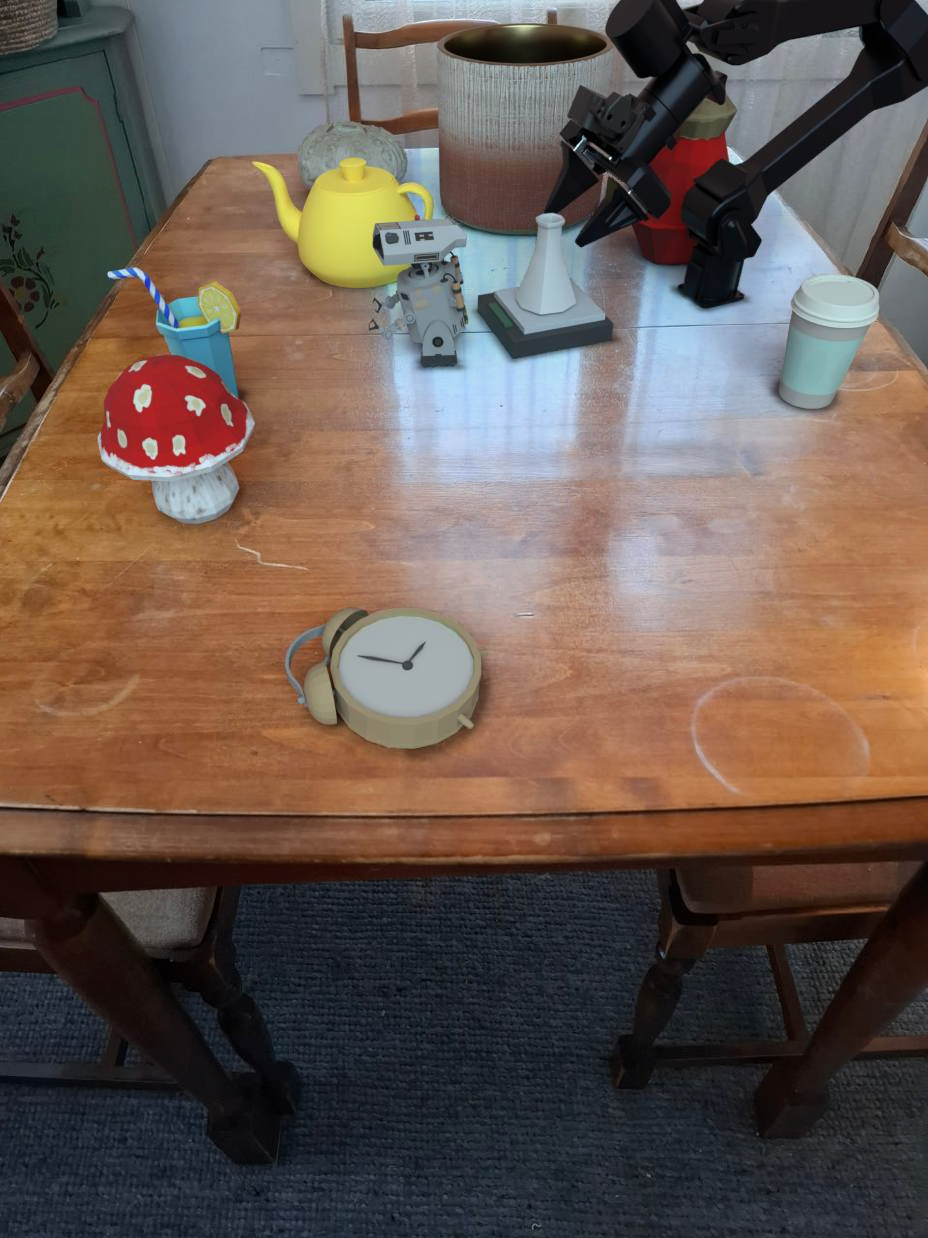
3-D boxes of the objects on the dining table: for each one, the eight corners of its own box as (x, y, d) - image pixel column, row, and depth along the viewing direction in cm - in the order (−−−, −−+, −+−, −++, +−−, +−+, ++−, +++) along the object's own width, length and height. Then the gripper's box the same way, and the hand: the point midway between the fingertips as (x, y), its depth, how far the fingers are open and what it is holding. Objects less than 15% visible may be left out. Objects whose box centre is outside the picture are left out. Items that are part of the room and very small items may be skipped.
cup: (136, 416, 89) (87, 282, 78) (165, 379, 94) (123, 249, 83) (256, 425, 87) (223, 290, 76) (279, 388, 92) (251, 256, 81)
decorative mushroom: (232, 445, 85) (194, 308, 74) (299, 509, 77) (268, 368, 66) (105, 498, 79) (43, 358, 68) (164, 573, 71) (105, 429, 60)
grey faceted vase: (538, 321, 96) (543, 235, 88) (504, 298, 100) (506, 214, 93) (586, 306, 98) (594, 221, 91) (551, 284, 102) (557, 201, 95)
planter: (552, 253, 116) (564, 74, 100) (409, 220, 125) (398, 51, 109) (625, 197, 130) (645, 32, 114) (491, 171, 140) (493, 15, 124)
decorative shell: (387, 169, 142) (382, 103, 134) (425, 202, 130) (421, 133, 123) (290, 185, 137) (279, 118, 129) (320, 221, 126) (310, 151, 118)
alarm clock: (473, 738, 55) (261, 689, 55) (461, 774, 59) (263, 728, 59) (495, 620, 63) (309, 577, 62) (484, 659, 66) (308, 618, 66)
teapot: (253, 289, 110) (230, 181, 100) (289, 237, 122) (271, 136, 112) (432, 296, 107) (427, 187, 97) (450, 242, 119) (448, 140, 109)
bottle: (698, 228, 121) (727, 72, 107) (746, 263, 112) (785, 99, 98) (603, 243, 118) (620, 85, 103) (645, 281, 109) (671, 114, 95)
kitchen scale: (569, 295, 107) (571, 273, 105) (611, 340, 98) (614, 316, 96) (477, 311, 104) (477, 288, 102) (513, 358, 96) (513, 335, 94)
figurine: (376, 333, 101) (363, 207, 90) (467, 330, 101) (465, 204, 90) (373, 370, 95) (358, 240, 84) (470, 367, 95) (468, 236, 84)
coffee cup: (846, 381, 91) (884, 276, 82) (844, 421, 85) (885, 314, 77) (768, 370, 93) (798, 266, 84) (762, 408, 87) (793, 302, 79)
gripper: (582, 33, 88) (488, 157, 94) (663, 75, 76) (549, 214, 82) (636, 106, 95) (546, 217, 101) (718, 155, 83) (610, 277, 89)
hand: (561, 229), depth 93 cm, fingers open, 9 cm apart
